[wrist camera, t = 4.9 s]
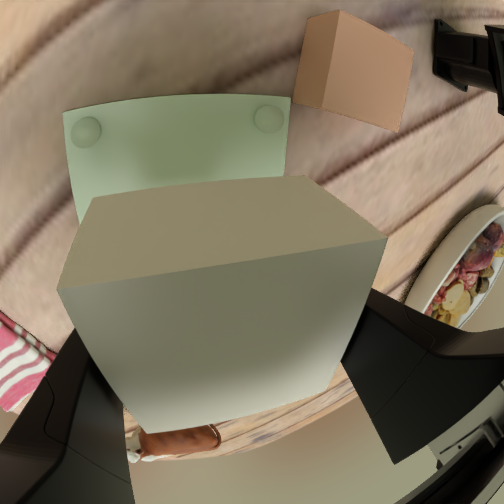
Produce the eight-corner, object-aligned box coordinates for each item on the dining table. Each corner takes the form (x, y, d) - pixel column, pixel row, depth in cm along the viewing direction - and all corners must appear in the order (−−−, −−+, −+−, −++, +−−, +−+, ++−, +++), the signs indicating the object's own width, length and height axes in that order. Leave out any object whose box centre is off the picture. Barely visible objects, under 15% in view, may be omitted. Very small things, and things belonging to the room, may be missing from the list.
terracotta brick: (377, 49, 16) (414, 50, 13) (362, 121, 19) (397, 132, 16) (306, 19, 13) (340, 9, 10) (290, 102, 17) (321, 108, 14)
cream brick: (304, 175, 9) (388, 237, 6) (284, 318, 12) (325, 390, 9) (92, 197, 7) (56, 289, 4) (137, 346, 10) (146, 433, 7)
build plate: (286, 96, 16) (295, 97, 15) (273, 240, 22) (279, 248, 21) (65, 111, 12) (59, 113, 11) (93, 264, 18) (90, 274, 17)
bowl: (490, 262, 46) (512, 282, 40) (401, 355, 50) (421, 381, 44) (495, 159, 28) (534, 181, 22) (368, 296, 32) (406, 341, 26)
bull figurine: (109, 399, 28) (114, 458, 21) (211, 396, 33) (229, 450, 27) (113, 413, 30) (119, 467, 23) (206, 410, 35) (222, 460, 29)
